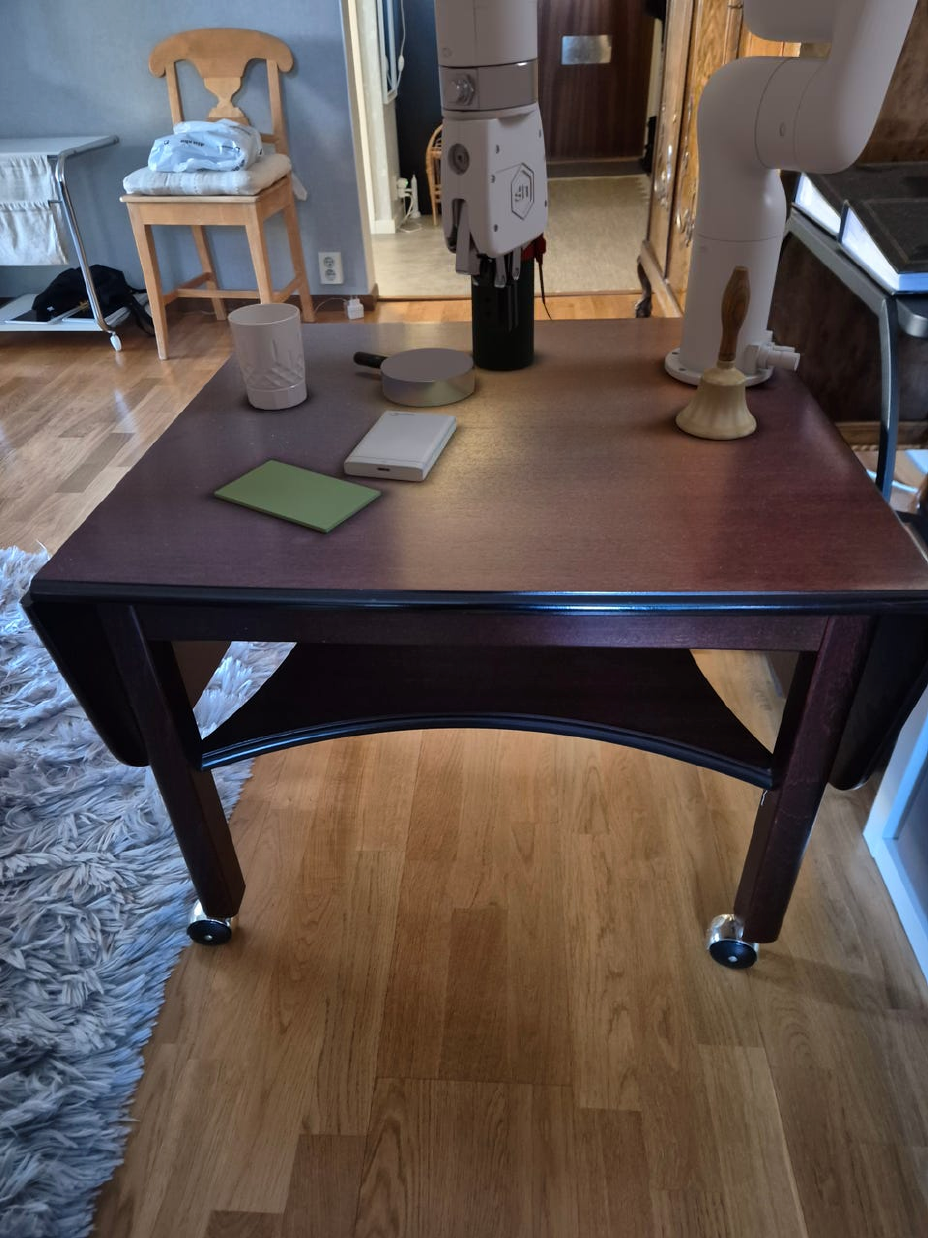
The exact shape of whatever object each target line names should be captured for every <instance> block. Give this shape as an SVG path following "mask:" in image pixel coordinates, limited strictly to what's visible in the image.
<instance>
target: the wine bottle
mask: <svg viewBox="0 0 928 1238" xmlns="http://www.w3.org/2000/svg"><path fill="white" fill-rule="evenodd" d="M544 233H545V231H544V232H543V233H542V234H541V235H540V236H538V237H537V238H535V239H534V240H532V241H531V242H530V244H529V245H528V246H527V247H526V248H525V249H524V250H523V252H522V254H521V259H520V275H519V278H518V279H517V280H513V282H517V309H518V325H517V326H516V327H515V328H513V329H511V330H510V331H509V332H507V333H503V332H497V331H490V330H484V329H481V328H480V327H479V325H478V307H477V288H476V285H474V284H473V282H472V276H471V275H470V297H471V298H470V299H471V301H470V303H471V305H470V306H471V342H472V343H471V344H472V345H471V346H472V348H471V349H472V358H473V360H474V366H476V367H478V368H479V369H484V370H488V371H491V372H494V371H495V372H511V371H516V370H521V369H525V368H527V367H529V366H531V365H533V363H534V359H535V271H536V270H535V269H536V268H535V266H536V265H535V263H537V265H538V274H539V284H540V293H541V302H542V304H543V306H544V310H545V311H546V314H547V316H548V317H549V319H550V320H551V322H552V323H553V324H555V323H554V321H553V318H552V317H551V315H550V313H549V310H548V308H547V305H546V294H545V284H544V274H543V273H544V271H543V266H544V255H545V254H546V252H547V240H546V238H545V237H544Z"/></svg>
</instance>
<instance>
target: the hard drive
mask: <svg viewBox="0 0 928 1238" xmlns="http://www.w3.org/2000/svg"><path fill="white" fill-rule="evenodd" d="M457 427H458V421H457V417H456V416H455V415H452V414H441V413H426V412H411V411H399V410H398V411H397V410H396V411H395V410H385V411H384V412H383V414H382V415H381V416H380V417H379V419H378V420H377V421H376V422H375V423H374V425H372V427H371V428H370V429H369V431H368V432H367V433H366V434H365V436H364V437H363V438H362V439H361V440H360V442H358V444H357V445H356V447H355V448H354V449H353V451H352V452H350V454H349V456H348V457H347V458H346V459H345V461H344V462H343V469H344V473H345V474H346V475H349V476H358V477H368V478H379V479H390V480H398V481H399V480H401V481H409V482H423V481H424V480H425V479H426V477H427V476H428V474H429V472H430V471H431V469H432V467H433V465H435V462H436V461H437V459H438V457H439V456H440V455H441V453H442V451H443V450H444V448H445V447H446V445H447V443H448V442H449V440H450V439H451V437H452V435H453V434H454V432H455V431H456V429H457Z"/></svg>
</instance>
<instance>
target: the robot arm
mask: <svg viewBox="0 0 928 1238" xmlns="http://www.w3.org/2000/svg"><path fill="white" fill-rule="evenodd" d="M538 1H539V0H433V8H434V18H435V19H434V23H435V35H436V36H435V37H436V49H437V51H436V52H437V63H438V66H437V67H438V80H439V93H440V94H439V97H440V106H441V107H440V110H441V116H442V117H443V118H442V124H441V125H442V127H441V139H440V140H441V142H440V145H441V146H440V202H441V219H442V228H443V237H444V242H445V246H446V248H447V250H448V251H449V252H450V253H451V254H453V255H455V272H456V274H457V275H464V276H470V277H471V276H472V282H473V284H474V285H476V288H477V307H478V325H479V327H480V328H481V329H484V330H490V331H497V332H503V333H507V332H509V331H510V330H511V329H513V328H515V327H516V326H517V325H518V309H517V282H513V280H517V279H518V278H519V275H520V259H521V254H522V252H523V250H524V249H525V248H526V247H527V246H528V245H529V244H530V242H531V241H532V240H534V239H535V238H537V237H538V236H540V235H541V234H542V233H543V232H544V233H545V231H546V229H547V227H548V225H549V198H548V197H549V195H548V193H549V192H548V175H547V158H546V147H545V136H544V129H543V128H544V127H543V121H542V116H541V110H540V106H539V68H538V67H539V65H538V64H539V62H538V61H539V59H538ZM552 1H557V0H552ZM917 4H918V0H743V5H742V6H743V7H742V10H743V12H742V13H743V14H742V15H743V20H744V23H745V26H746V28H747V30H748V31H749V33H751V34H752V35H753V36H754V37H756V38H759V39H761V40H764V41H769V42H776V43H789V44H791V43H792V44H831V46H830V47H831V48H830V52H829V56H828V58H826V57H825V58H824V57H822V58H820V57H801V56H785V55H784V56H782V55H781V56H780V55H753V56H743V57H740V58H736V59H733V60H731V61H728V62H726V63H725V64H723V65H722V66H720V67H718V69H716V70H715V71H714V72H713V74H712V75H710V77H709V78H708V79H707V81H706V82H705V85H704V86H703V89H702V91H701V94H700V96H699V100H698V104H697V110H696V142H697V143H696V144H697V145H696V146H697V159H698V160H697V163H698V179H697V180H698V182H697V195H696V196H697V197H696V205H695V217H694V224H693V233H692V242H691V249H690V250H691V251H690V258H689V266H688V267H689V268H688V276H687V285H686V293H685V302H684V310H683V319H682V328H681V335H680V344H679V347H677V348H675V349H672V350H670V351H669V352H668V353H667V354H666V356H665V358H664V370H665V371H666V372H667V374H669V376H671V377H673V378H675V380H677V381H680V382H683V383H686V384H689V385H694V386H698V385H699V382H700V378H701V375H702V373H703V372H704V371H705V370H707V369H709V368H713V367H715V366H716V365H717V360H718V354H719V352H720V351H719V350H720V345H721V340H722V334H723V327H722V320H721V307H722V299H723V294H724V291H725V288H726V286H727V284H728V282H729V280H730V278H731V276H732V273H733V271H734V268H735V267H736V266H746V267H748V276H749V282H750V291H751V295H750V303H749V308H748V312H747V315H746V318H745V320H744V322H743V324H742V327H741V329H740V331H739V335H738V341H737V349H736V358H735V359H734V360H735V363H734V368H735V369H737V370H739V371H740V372H742V373H743V374H744V376H745V378H746V381H745V388H747V387H751V386H754V385H758V384H761V383H763V382H765V381H766V380H768V379H769V378H771V376H772V375H773V370H774V367H775V368H778V369H779V370H780V369H781V370H787V371H793V372H795V371H797V368H798V366H799V364H800V363H799V362H800V359H801V354H800V353H798V352H795V350H796V347H791V346H786V345H776V343H775V342H774V341H773V342H772V338H773V333H774V332H773V331H772V330H768V329H767V327H768V322H769V316H770V311H771V304H772V299H773V294H774V287H775V283H776V276H777V271H778V265H779V260H780V254H781V253H780V252H781V250H782V249H781V248H782V244H783V243H782V242H783V238H784V237H783V236H784V233H785V227H786V221H787V199H786V194H785V193H786V192H785V189H784V185H783V183H782V179H781V177H780V173H779V170H783V171H790V172H800V173H807V174H815V175H830V174H831V175H832V174H837V173H839V172H843V171H845V170H846V169H848V168H849V167H850V166H852V165H853V164H854V163H855V162H856V161H857V160H858V158H859V157H860V156H861V154H862V153H863V151H864V149H865V148H866V147H867V144H868V142H869V140H870V137H872V133H873V130H874V128H875V125H876V123H877V120H878V118H879V115H880V112H881V109H882V107H883V103H884V101H885V97H886V95H887V92H888V89H889V85H890V83H891V80H892V77H893V75H894V72H895V69H896V66H897V63H898V59H899V57H900V54H901V51H902V48H903V45H904V42H905V39H906V37H907V34H908V31H909V28H910V26H911V22H912V20H913V17H914V13H915V10H916V7H917Z"/></svg>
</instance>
